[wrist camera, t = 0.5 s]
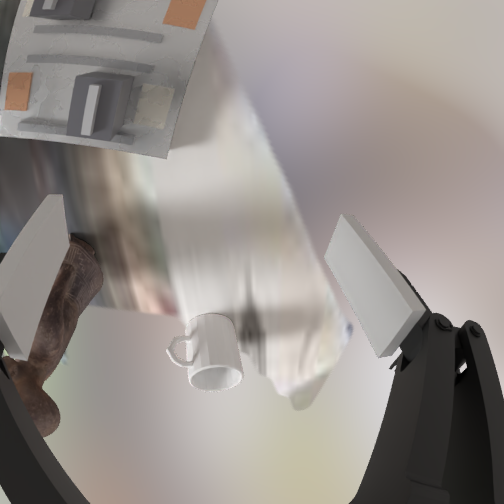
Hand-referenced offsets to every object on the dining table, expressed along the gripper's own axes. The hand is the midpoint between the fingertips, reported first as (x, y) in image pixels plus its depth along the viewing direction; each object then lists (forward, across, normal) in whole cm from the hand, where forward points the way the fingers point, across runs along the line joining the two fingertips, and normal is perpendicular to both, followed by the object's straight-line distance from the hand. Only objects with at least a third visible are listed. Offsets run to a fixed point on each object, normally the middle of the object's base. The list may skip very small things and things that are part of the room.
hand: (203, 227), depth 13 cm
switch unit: (+20, -11, +8) cm, 24 cm away
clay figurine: (+20, -15, -18) cm, 31 cm away
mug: (+20, +4, -31) cm, 38 cm away
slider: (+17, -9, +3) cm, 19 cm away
